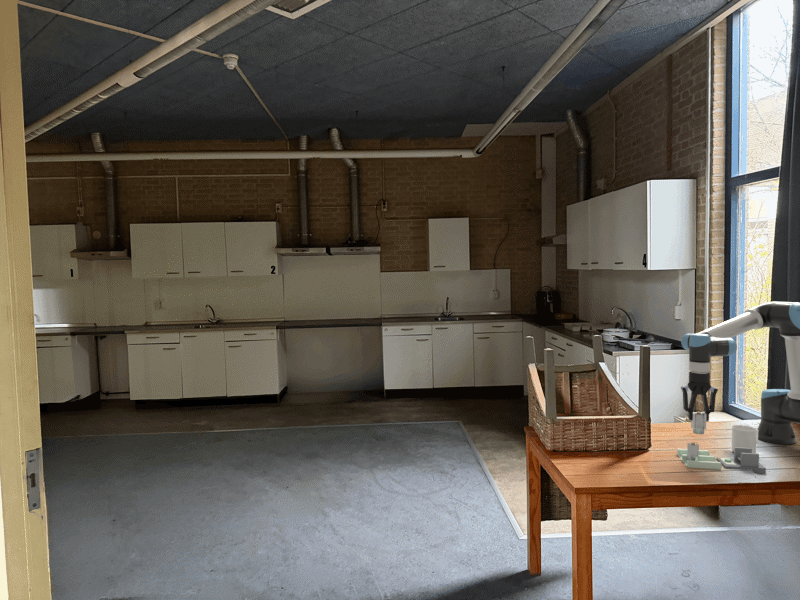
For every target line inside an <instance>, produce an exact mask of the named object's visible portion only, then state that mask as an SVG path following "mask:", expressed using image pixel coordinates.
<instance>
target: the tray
mask: <svg viewBox="0 0 800 600" xmlns="http://www.w3.org/2000/svg"><path fill="white" fill-rule="evenodd" d="M676 455H677V456H678V458H679V459H680V460H681V461H682V462H683V464H684V465H685V466H686V467H687V468H691V469H692V468H693V469H707V470H708V469H710V470H722V464H721V462H719V461H716V456H714V455H710V451H709V450H708V449H699V461H692V460H687V448H677V449H676Z"/></svg>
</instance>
